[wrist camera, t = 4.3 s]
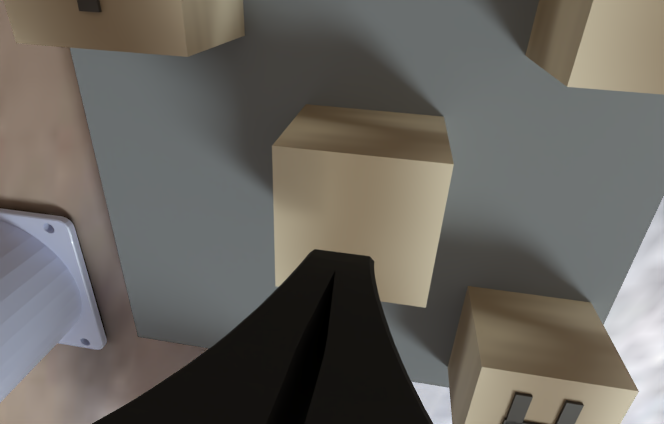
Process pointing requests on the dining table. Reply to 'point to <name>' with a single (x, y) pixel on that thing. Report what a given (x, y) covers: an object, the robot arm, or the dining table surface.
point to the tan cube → (128, 24)
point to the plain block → (363, 193)
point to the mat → (381, 95)
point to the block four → (535, 363)
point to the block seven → (601, 43)
